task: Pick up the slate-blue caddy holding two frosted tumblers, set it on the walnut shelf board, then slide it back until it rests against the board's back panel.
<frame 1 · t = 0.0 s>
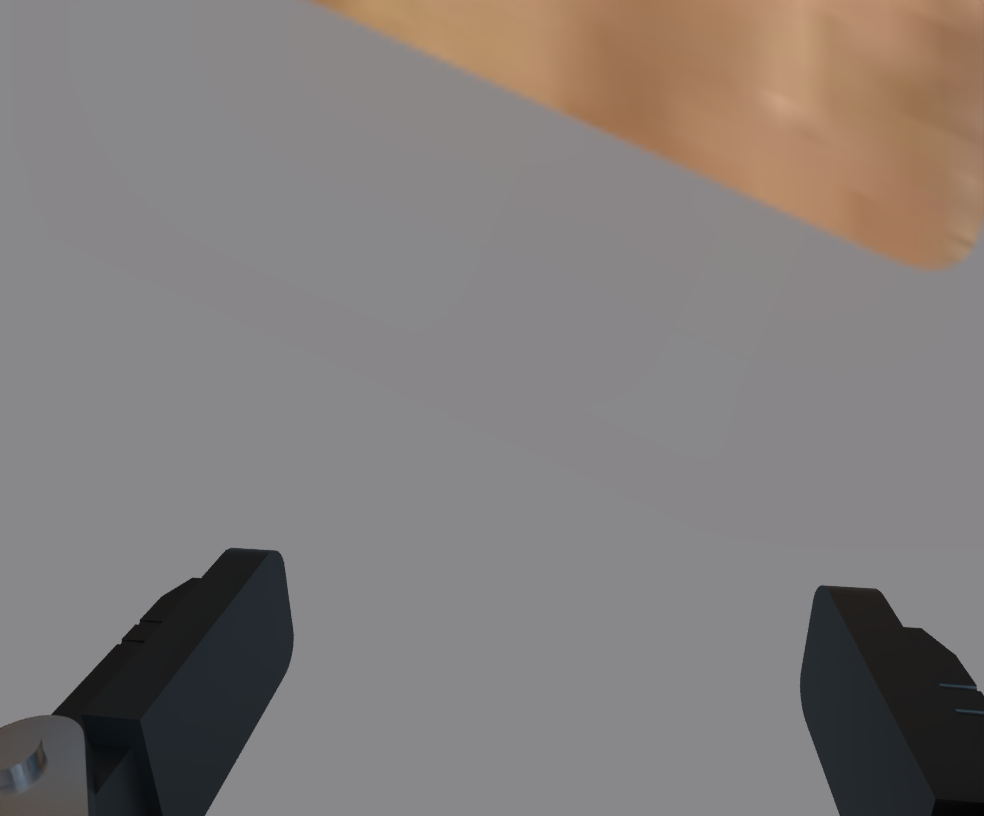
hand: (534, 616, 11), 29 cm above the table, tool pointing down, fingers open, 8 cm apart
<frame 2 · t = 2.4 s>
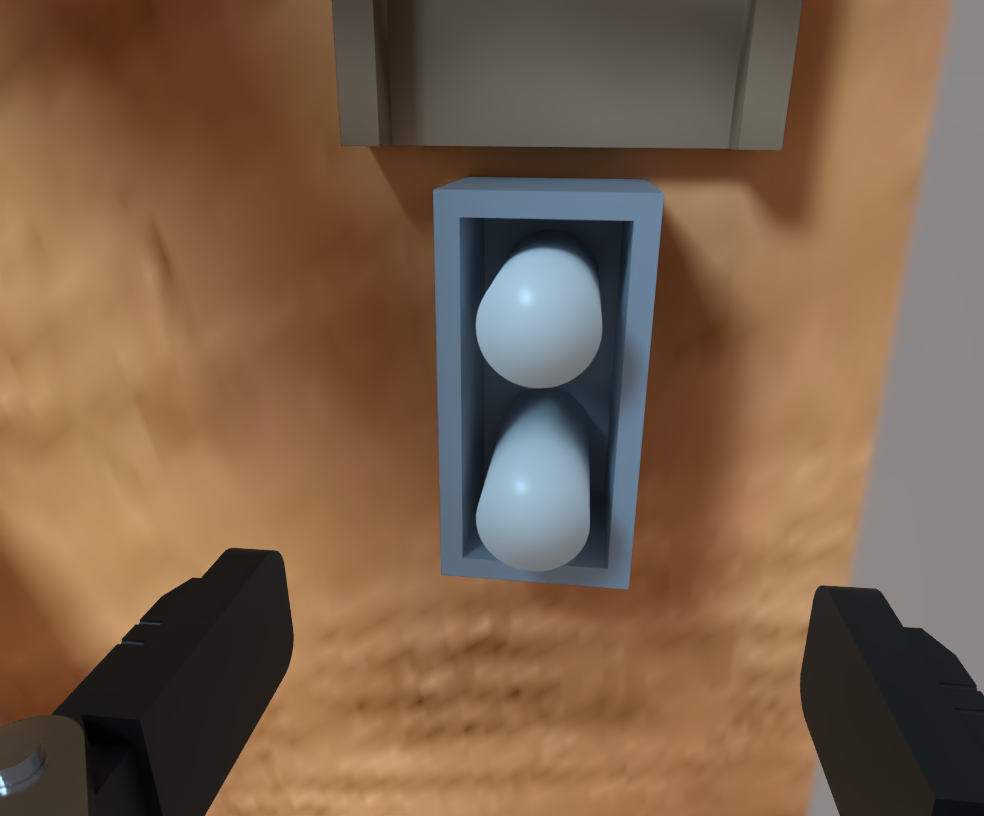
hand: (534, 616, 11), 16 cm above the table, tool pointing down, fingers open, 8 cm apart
caddy: (549, 349, 26), on the table
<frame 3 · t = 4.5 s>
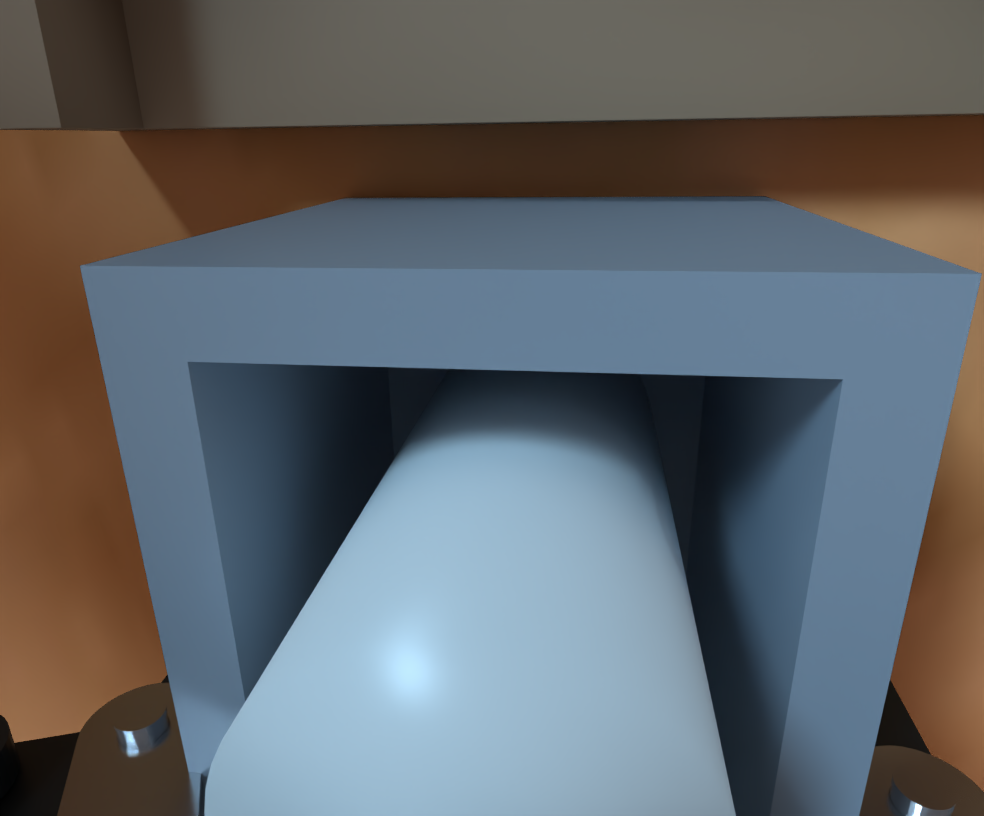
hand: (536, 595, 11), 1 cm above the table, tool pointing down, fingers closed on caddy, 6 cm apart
caddy: (542, 557, 12), on the table, touching gripper
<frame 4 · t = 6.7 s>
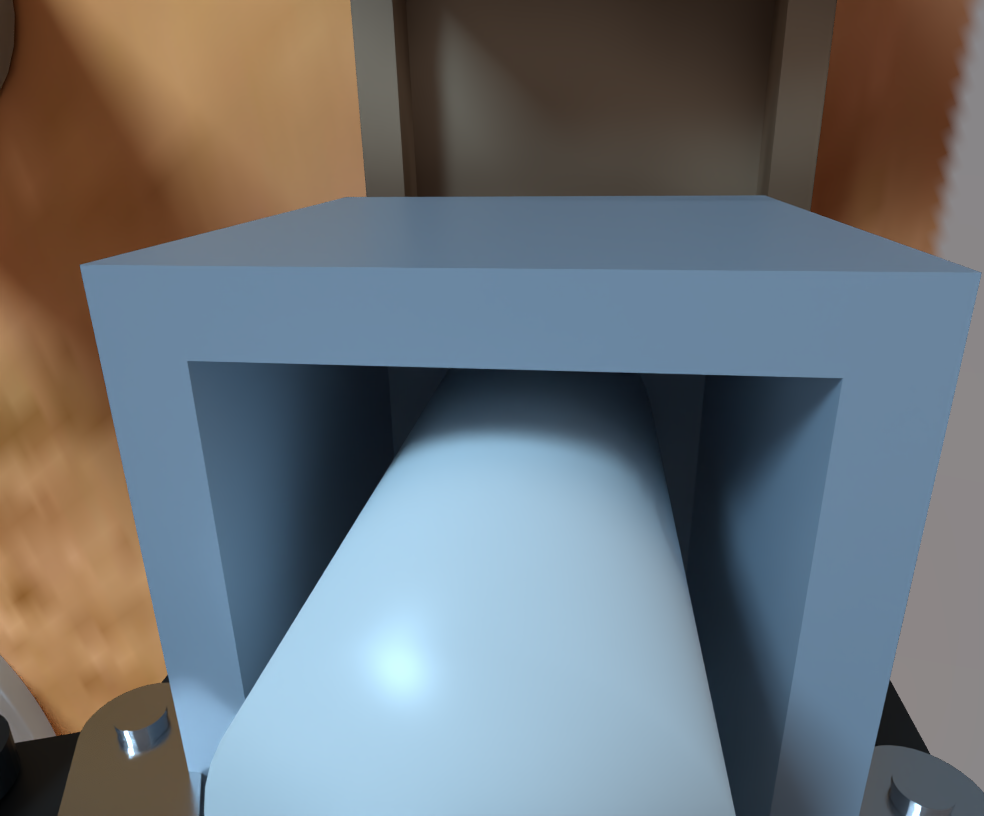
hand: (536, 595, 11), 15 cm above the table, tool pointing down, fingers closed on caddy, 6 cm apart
caddy: (543, 556, 12), point 14 cm above the table, touching gripper
shelf: (581, 219, 24), on the table
when the fingers open (4 cm above the table, at t = 9.0 s): caddy drops 1 cm, resting on shelf.
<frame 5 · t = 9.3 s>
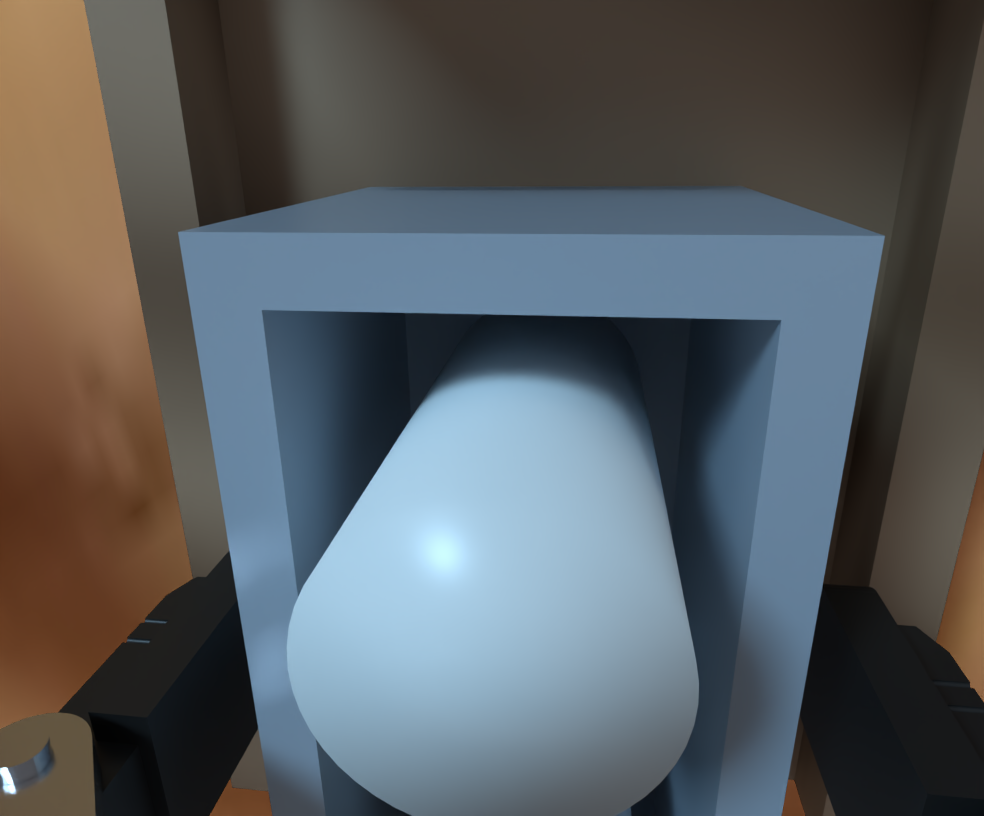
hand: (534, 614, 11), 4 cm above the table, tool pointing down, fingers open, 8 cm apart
caddy: (544, 513, 14), point 1 cm above the table, touching shelf
shelf: (554, 297, 13), on the table
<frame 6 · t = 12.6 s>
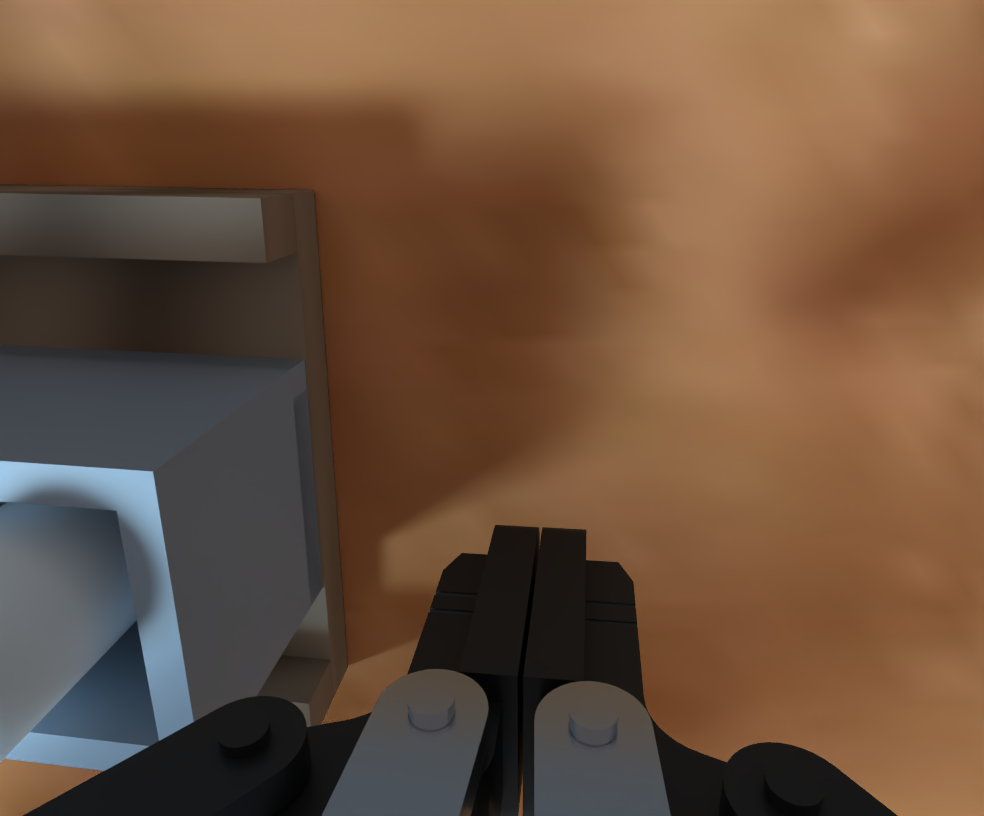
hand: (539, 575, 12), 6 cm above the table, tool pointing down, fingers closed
caddy: (81, 464, 18), point 1 cm above the table, touching shelf
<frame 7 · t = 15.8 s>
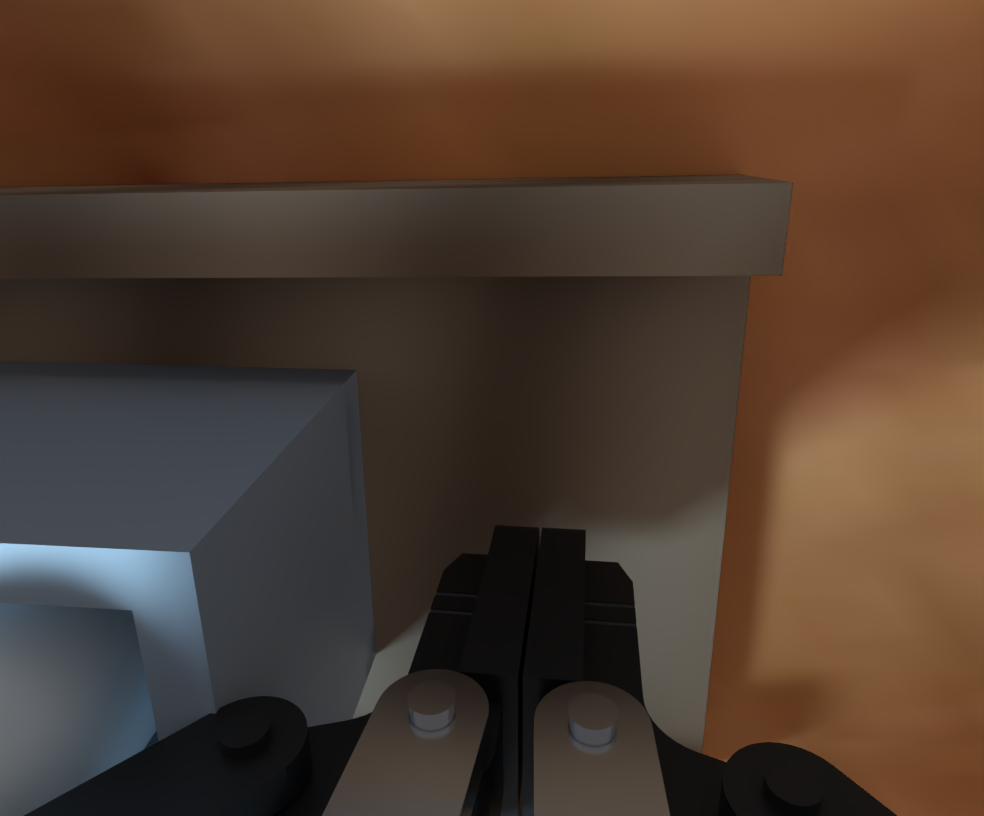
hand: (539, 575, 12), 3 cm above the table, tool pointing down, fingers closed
caddy: (65, 509, 14), point 1 cm above the table, touching gripper, hand, shelf
shelf: (221, 508, 15), on the table
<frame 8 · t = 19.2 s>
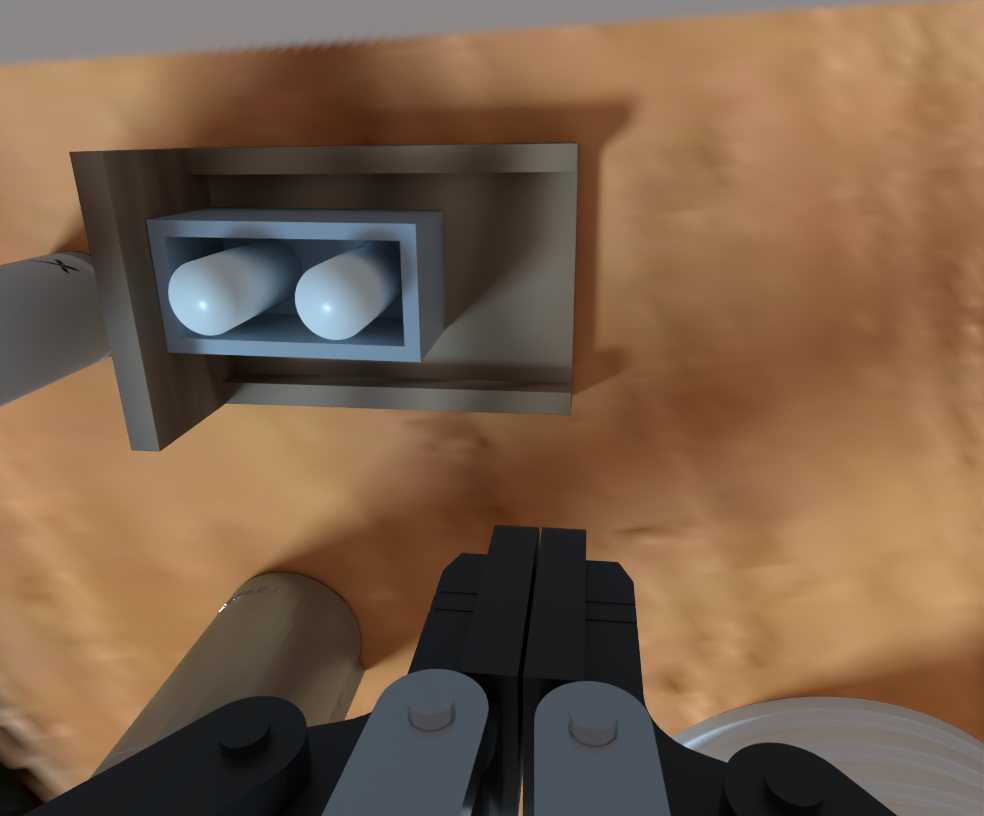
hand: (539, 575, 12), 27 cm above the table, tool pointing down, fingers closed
caddy: (330, 268, 37), point 1 cm above the table, touching shelf
shelf: (385, 275, 38), on the table
travel mug: (84, 302, 41), on the table
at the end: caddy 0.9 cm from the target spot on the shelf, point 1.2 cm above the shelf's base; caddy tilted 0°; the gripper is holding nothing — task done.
